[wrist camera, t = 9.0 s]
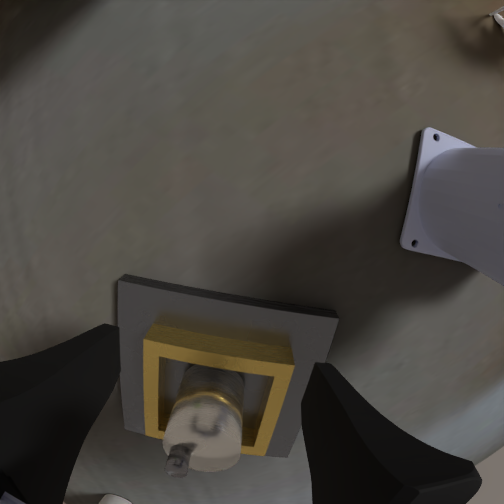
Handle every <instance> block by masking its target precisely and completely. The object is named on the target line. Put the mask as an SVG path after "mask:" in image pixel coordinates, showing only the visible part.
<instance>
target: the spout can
mask: <svg viewBox="0 0 504 504" xmlns="http://www.w3.org/2000/svg"><path fill="white" fill-rule="evenodd" d="M243 405H244V383H243V380H242V379H241V377H240V376H239V375H238V373H237V372H235V371H232V370H226V369H220V368H215V367H209V366H204V365H198V364H196V365H194V366H192V367H190V368H189V369H188V370H187V371H186V372H185V373H184V375H183V378H182V381H181V384H180V387H179V390H178V393H177V396H176V399H175V402H174V406H173V409H172V412H171V415H170V418H169V421H168V424H167V428H166V431H165V434H164V437H163V441H162V444H163V448H164V450H165V452H166V454H167V455H168V459H167V463H166V467H165V471H166V473H168V474H169V475H171V476H173V477H178V478H182V477H185V476H186V475H187V472H188V468H190V469H193V470H197V471H204V472H216V471H222V470H225V469H228V468H230V467H232V466H234V465H235V464H236V463H237V462H238V461H239V459H240V456H241V441H242V423H243Z"/></svg>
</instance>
